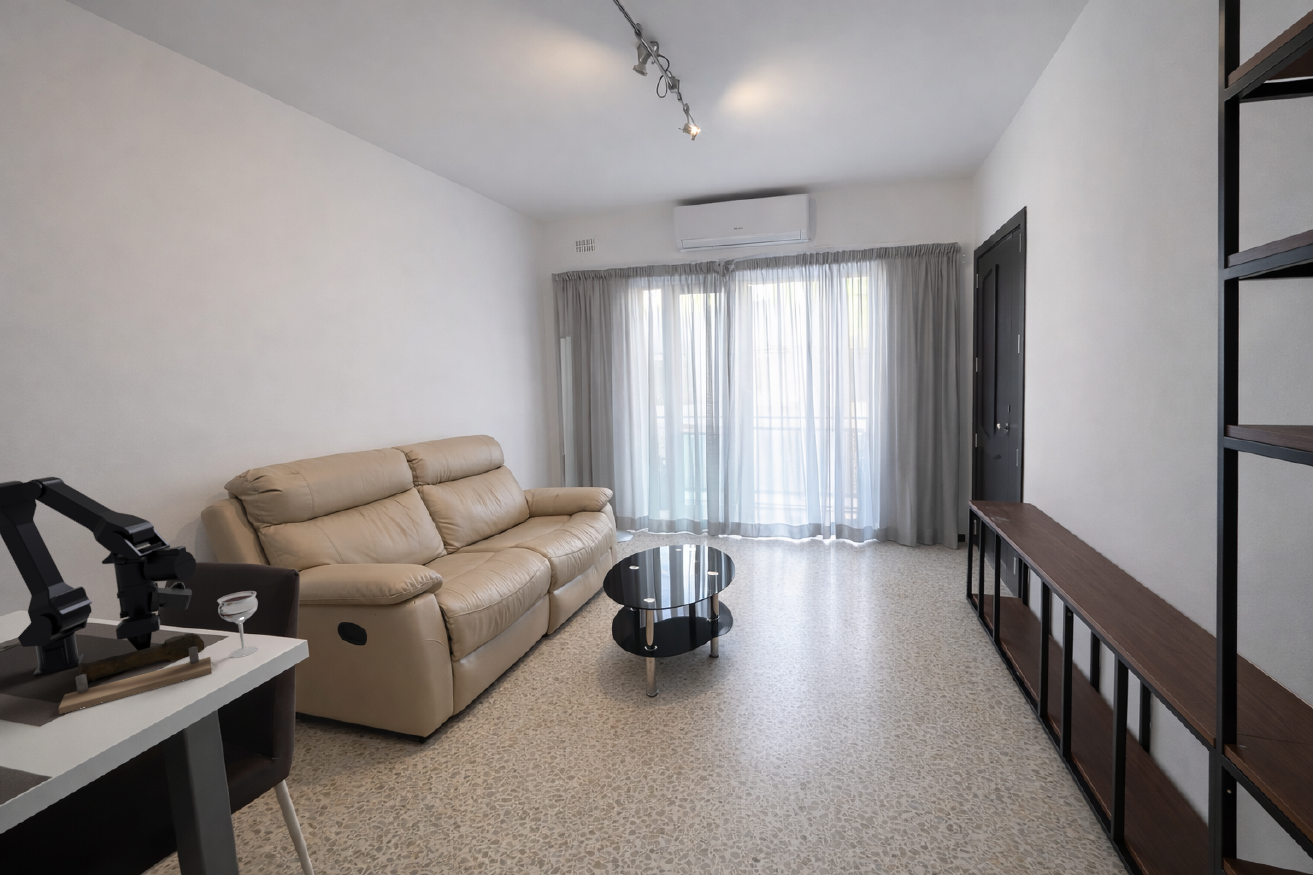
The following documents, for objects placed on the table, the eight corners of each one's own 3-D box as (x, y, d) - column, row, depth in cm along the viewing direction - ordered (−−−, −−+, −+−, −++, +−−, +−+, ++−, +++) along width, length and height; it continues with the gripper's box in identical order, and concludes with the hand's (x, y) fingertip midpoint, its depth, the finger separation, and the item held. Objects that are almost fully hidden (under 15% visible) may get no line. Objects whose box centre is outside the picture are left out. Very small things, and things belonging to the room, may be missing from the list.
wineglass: (260, 654, 121) (253, 598, 120) (220, 662, 118) (213, 605, 117) (265, 641, 127) (259, 588, 126) (227, 649, 124) (221, 595, 123)
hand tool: (78, 688, 110) (75, 665, 110) (81, 680, 113) (78, 657, 113) (204, 656, 122) (202, 634, 122) (204, 649, 125) (201, 628, 125)
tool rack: (65, 700, 105) (62, 678, 105) (211, 662, 118) (208, 642, 118) (59, 714, 101) (56, 691, 100) (211, 673, 113) (209, 652, 113)
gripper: (186, 583, 116) (196, 657, 118) (186, 563, 131) (195, 629, 132) (110, 598, 109) (122, 677, 111) (119, 575, 124) (129, 645, 126)
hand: (146, 655), depth 120 cm, fingers closed
